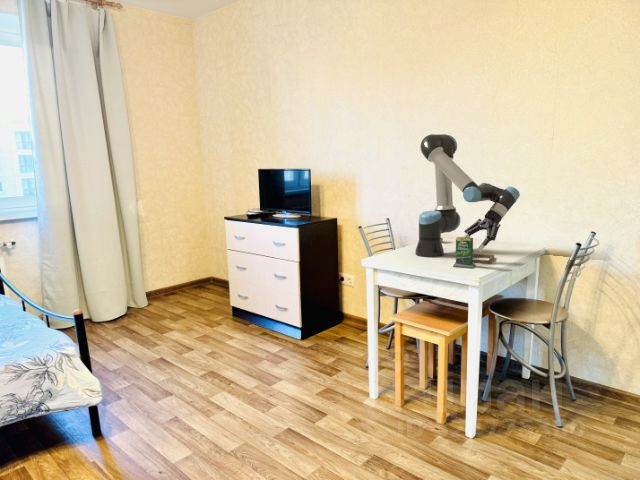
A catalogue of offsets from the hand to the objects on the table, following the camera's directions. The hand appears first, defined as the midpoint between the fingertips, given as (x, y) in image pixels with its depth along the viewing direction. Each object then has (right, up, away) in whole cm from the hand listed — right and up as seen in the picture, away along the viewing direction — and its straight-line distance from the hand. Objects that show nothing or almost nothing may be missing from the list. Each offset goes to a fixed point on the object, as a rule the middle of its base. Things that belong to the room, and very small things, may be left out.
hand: (469, 247), depth 214 cm
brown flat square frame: (+9, -7, +13) cm, 17 cm away
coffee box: (-2, -8, +2) cm, 9 cm away
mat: (-2, -9, +2) cm, 9 cm away
